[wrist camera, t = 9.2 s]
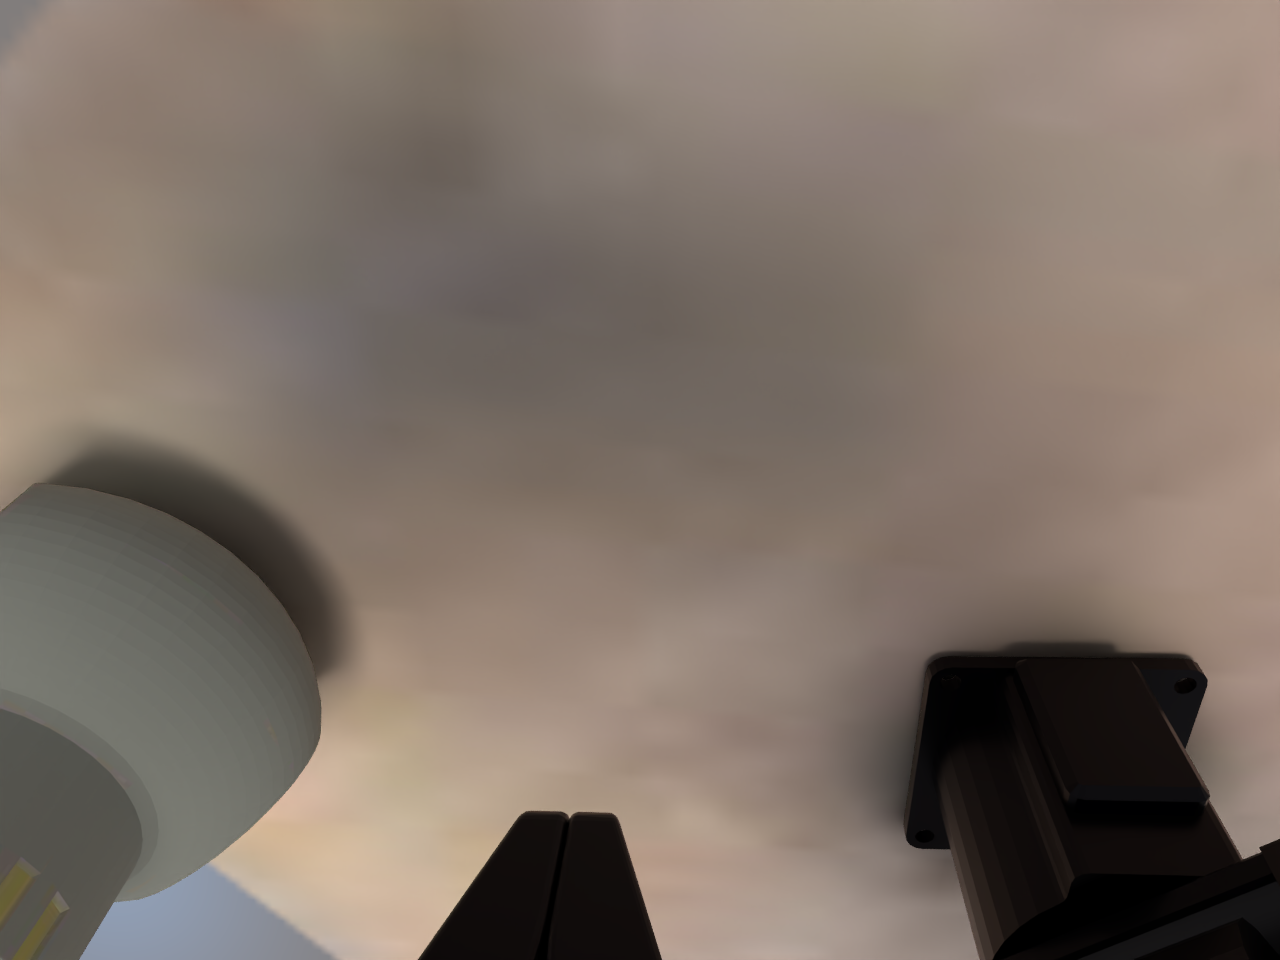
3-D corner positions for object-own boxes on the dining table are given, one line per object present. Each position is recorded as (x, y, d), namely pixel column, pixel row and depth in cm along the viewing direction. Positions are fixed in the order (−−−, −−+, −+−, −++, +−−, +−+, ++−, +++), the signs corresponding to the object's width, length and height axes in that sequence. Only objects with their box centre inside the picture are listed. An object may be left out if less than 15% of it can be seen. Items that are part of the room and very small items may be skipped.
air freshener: (139, 795, 28) (-108, 1183, 20) (-115, 609, 25) (-541, 974, 17) (408, 629, 24) (248, 1020, 16) (148, 386, 21) (-225, 708, 13)
